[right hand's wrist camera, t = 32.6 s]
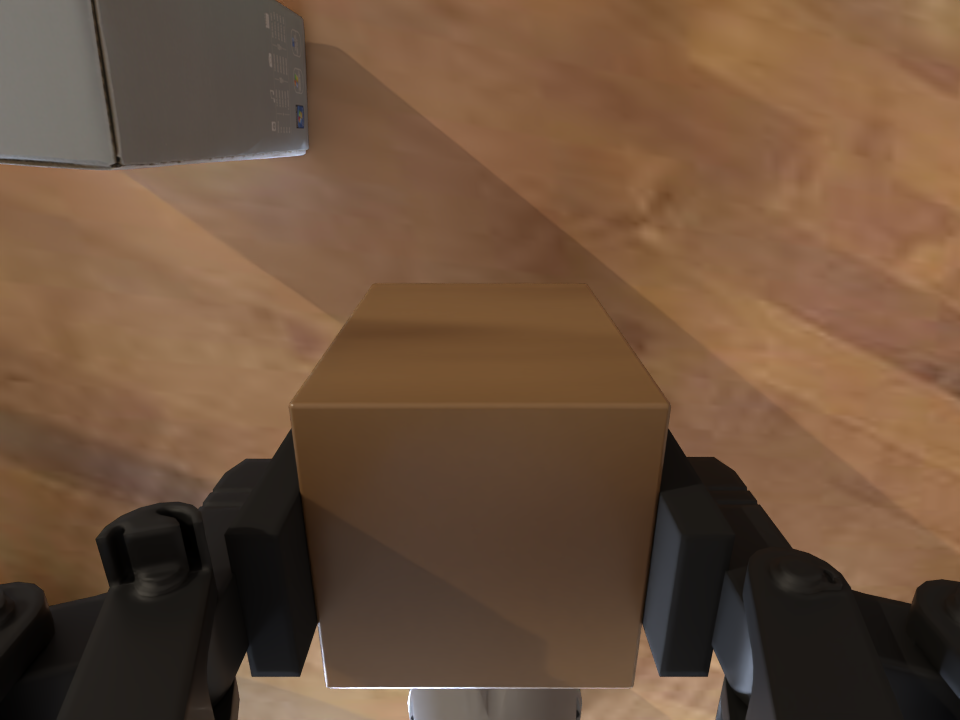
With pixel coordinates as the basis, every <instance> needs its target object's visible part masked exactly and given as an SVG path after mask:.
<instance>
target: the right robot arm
mask: <svg viewBox="0 0 960 720" xmlns="http://www.w3.org/2000/svg"><path fill="white" fill-rule="evenodd" d="M96 543H97V546H98V549H99V553H100V556H101V560H102V563H103V566H104V570H105V573H106V577H107V580H108V583H109V587H110V588H109V591H108V592H107V593H104V594H100V595H97V596H93V597H89V598H84V599H80V600H75V601H71V602H66V603H62V604H57V605H52V606H49V605H48V603H47V600H46V597H45V594H44V591H43V590H42V589H40V588H39V587H38V586H36V585H35V584H31V583H23V582H14V583H8V584H1V585H0V720H238V711H239V700H240V699H239V692H238V686H237V681H236V677H235V676H236V674H237V671H238V669H239V667H240V665H241V662H242V660H243V658H244V656H245V654H246V651H247V655H248V660H249V665H250V670H251V675H252V677H300V675H301V672H302V669H303V666H304V663H305V660H306V657H307V654H308V650H309V647H310V644H311V641H312V638H313V635H314V632H315V629H316V626H317V615H316V608H315V600H314V593H313V585H312V577H311V570H310V562H309V555H308V547H307V540H306V532H305V525H304V517H303V510H302V502H301V495H300V488H299V480H298V473H297V465H296V458H295V450H294V443H293V435H292V428H291V430H290V431H289V433H288V434H287V436H286V438H285V439H284V441H283V442H282V444H281V445H280V447H279V449H278V450H277V452H276V453H275V455H274V456H273V458H272V459H245V460H244V461H242V462H241V463H239V464H238V465H236V466H235V467H233V468H232V469H230V470H229V471H227V472H226V473H225V474H224V475H223V477H222V478H221V479H220V481H219V482H218V483H217V485H216V486H215V487H214V489H213V493H210V494H209V495H208V497H207V498H206V499H205V501H204V502H203V506H202V507H200V508H199V509H197V508H196V507H194V506H193V505H190V504H186V503H181V502H166V503H157V504H153V505H149V506H145V507H141V508H138V509H136V510H134V511H131V512H129V513H127V514H124V515H122V516H120V517H119V518H117V519H116V520H115V521H113V522H112V523H110V524H109V525H107V526H106V527H105V528H104V529H103V530H102V532H101V533H100V534H99V535H98V537H97V538H96ZM642 624H643V627H644V630H645V633H646V636H647V640H648V643H649V646H650V649H651V652H652V655H653V658H654V661H655V664H656V667H657V670H658V673H659V676H660V677H708V673H709V668H710V663H711V658H712V653H713V649H714V652H715V654H716V656H717V658H718V660H719V663H720V665H721V667H722V669H723V672H724V674H725V677H724V681H723V686H722V691H721V696H720V700H719V705H718V710H717V715H716V720H960V582H956V581H950V580H943V579H941V580H933V581H926V582H924V583H923V584H922V585H920V586H919V587H918V588H917V589H916V592H915V595H914V598H913V601H912V604H910V603H905V602H901V601H896V600H892V599H887V598H882V597H878V596H873V595H869V594H864V593H861V592H858V591H854V590H851V587H850V586H849V584H848V583H847V581H846V580H845V578H844V577H843V575H842V574H841V573H840V572H838V571H837V570H836V569H835V568H833V567H832V566H831V565H830V564H828V563H827V562H825V561H823V560H821V559H819V558H817V557H815V556H813V555H811V554H809V553H806V552H803V551H799V550H796V549H793V548H792V547H791V546H790V544H789V543H788V542H787V540H786V539H785V538H784V536H783V535H782V534H781V532H780V531H779V530H778V528H777V527H776V526H775V524H774V523H773V522H772V520H771V519H770V518H769V516H768V515H767V514H766V512H765V511H764V510H763V508H762V507H761V506H760V505H758V504H757V500H756V499H755V498H754V496H753V495H752V494H751V492H750V491H747V487H746V486H745V484H744V483H743V482H742V480H741V479H740V478H739V476H738V475H737V473H736V472H735V471H734V470H732V469H731V468H729V467H728V466H726V465H725V464H723V463H722V462H720V461H719V460H717V459H716V458H715V457H686V456H685V454H684V452H683V451H682V449H681V448H680V446H679V445H678V443H677V441H676V440H675V438H674V437H673V435H672V433H671V432H670V430H669V429H668V433H667V440H666V448H665V455H664V463H663V470H662V478H661V485H660V492H659V499H658V507H657V514H656V522H655V529H654V537H653V544H652V552H651V559H650V566H649V574H648V581H647V589H646V596H645V604H644V611H643V619H642ZM581 706H582V700H581V693H580V689H528V688H410V691H409V699H408V710H409V717H410V720H580V717H581Z"/></svg>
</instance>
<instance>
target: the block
mask: <svg viewBox="0 0 960 720" xmlns="http://www.w3.org/2000/svg"><path fill="white" fill-rule="evenodd" d="M670 410H671V406H670V403H669V401H668V400H667V398H666V397H665V396H664V394H663V393H662V391H661V390H660V388H659V387H658V386H657V384H656V383H655V381H654V380H653V378H652V377H651V375H650V374H649V373H648V371H647V370H646V368H645V367H644V365H643V364H642V363H641V361H640V360H639V358H638V357H637V355H636V354H635V352H634V351H633V350H632V348H631V347H630V345H629V344H628V342H627V341H626V340H625V338H624V337H623V335H622V334H621V332H620V331H619V330H618V328H617V327H616V325H615V324H614V322H613V321H612V319H611V318H610V317H609V315H608V314H607V312H606V311H605V309H604V308H603V307H602V305H601V304H600V302H599V301H598V299H597V298H596V296H595V295H594V294H593V292H592V291H591V289H590V288H589V286H588V285H587V284H373V285H372V286H371V287H370V289H369V290H368V292H367V293H366V295H365V296H364V298H363V299H362V300H361V302H360V303H359V305H358V306H357V308H356V309H355V310H354V312H353V313H352V315H351V316H350V318H349V319H348V320H347V322H346V323H345V325H344V326H343V328H342V329H341V330H340V332H339V333H338V335H337V336H336V338H335V339H334V340H333V342H332V343H331V345H330V346H329V348H328V349H327V351H326V352H325V353H324V355H323V356H322V358H321V359H320V361H319V362H318V363H317V365H316V366H315V368H314V369H313V371H312V372H311V373H310V375H309V376H308V378H307V379H306V381H305V382H304V383H303V385H302V386H301V388H300V389H299V391H298V392H297V394H296V395H295V396H294V398H293V399H292V401H291V402H290V404H289V413H290V420H291V428H292V435H293V443H294V450H295V458H296V465H297V473H298V480H299V488H300V495H301V502H302V510H303V517H304V525H305V532H306V540H307V547H308V555H309V562H310V570H311V577H312V585H313V593H314V600H315V608H316V615H317V623H318V631H319V638H320V646H321V653H322V661H323V668H324V676H325V683H326V687H327V688H528V689H630V688H632V687H633V685H634V679H635V672H636V664H637V657H638V649H639V642H640V634H641V627H642V619H643V611H644V604H645V596H646V589H647V581H648V574H649V566H650V559H651V552H652V544H653V537H654V529H655V522H656V514H657V507H658V499H659V492H660V485H661V478H662V470H663V463H664V455H665V448H666V440H667V433H668V425H669V418H670Z"/></svg>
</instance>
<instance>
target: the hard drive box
mask: <svg viewBox="0 0 960 720" xmlns="http://www.w3.org/2000/svg"><path fill="white" fill-rule="evenodd" d="M308 148H309V141H308V108H307V84H306V57H305V36H304V22H303V19H302V17H301V16H299V15H297V14H296V13H294V12H293V11H291V10H290V9H288V8H287V7H285V6H283V5H282V4H281V3H279V2H277V1H276V0H0V164H9V165H21V166H34V167H50V168H66V169H85V170H125V169H136V168H148V167H161V166H171V165H181V164H195V163H207V162H221V161H234V160H249V159H263V158H276V157H290V156H299V155H304V154H305V153H306V150H307V149H308Z"/></svg>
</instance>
